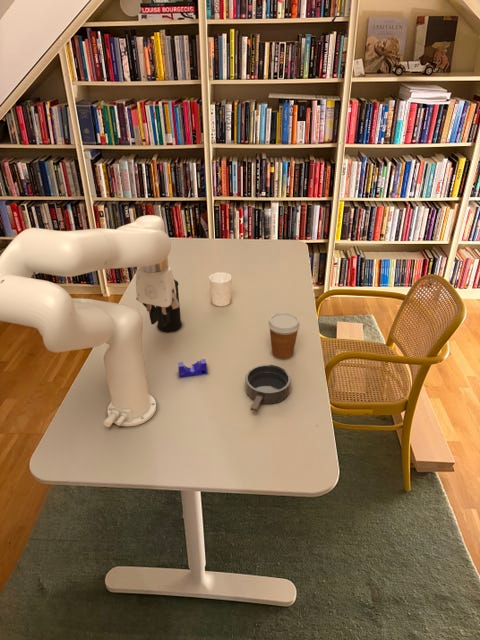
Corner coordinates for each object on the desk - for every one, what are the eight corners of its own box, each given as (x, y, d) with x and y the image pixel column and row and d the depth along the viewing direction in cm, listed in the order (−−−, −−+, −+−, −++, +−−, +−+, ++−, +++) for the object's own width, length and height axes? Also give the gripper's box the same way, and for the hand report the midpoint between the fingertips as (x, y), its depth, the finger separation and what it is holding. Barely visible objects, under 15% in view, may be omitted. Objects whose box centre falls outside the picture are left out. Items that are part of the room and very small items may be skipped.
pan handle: (256, 411, 122) (256, 409, 122) (250, 410, 123) (250, 407, 122) (264, 396, 127) (264, 393, 127) (258, 394, 128) (258, 392, 127)
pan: (282, 409, 127) (283, 397, 124) (239, 398, 130) (239, 386, 128) (294, 381, 136) (295, 370, 134) (254, 372, 140) (254, 360, 138)
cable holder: (205, 366, 142) (204, 355, 140) (207, 374, 140) (206, 363, 137) (178, 370, 141) (177, 359, 139) (179, 377, 138) (178, 366, 136)
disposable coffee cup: (260, 353, 148) (261, 320, 141) (280, 341, 154) (281, 308, 147) (285, 366, 142) (286, 332, 136) (304, 352, 148) (307, 319, 142)
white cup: (231, 307, 172) (231, 282, 166) (209, 307, 172) (208, 282, 167) (232, 296, 178) (231, 272, 173) (211, 296, 179) (210, 272, 173)
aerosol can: (177, 334, 157) (172, 279, 147) (153, 331, 159) (147, 277, 148) (185, 320, 164) (180, 267, 154) (162, 318, 166) (156, 265, 155)
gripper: (118, 264, 125) (128, 324, 135) (174, 274, 120) (180, 335, 130) (134, 253, 131) (141, 311, 141) (188, 262, 126) (192, 321, 136)
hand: (160, 322), depth 135 cm, fingers closed
